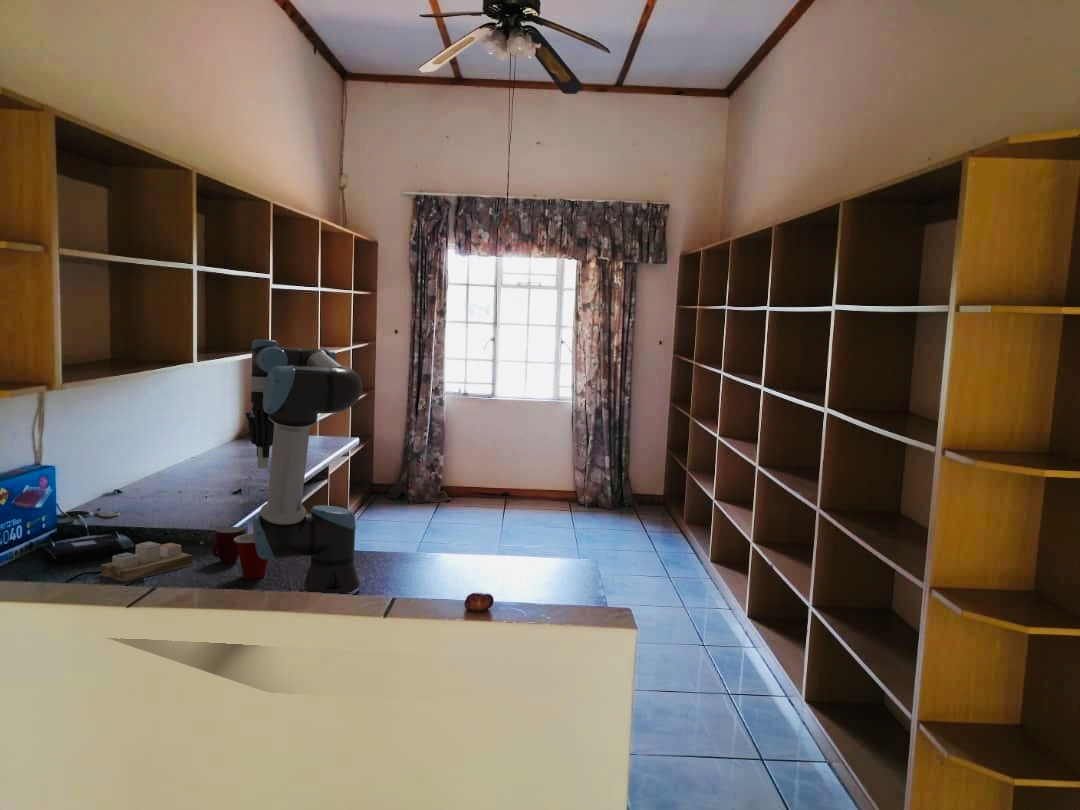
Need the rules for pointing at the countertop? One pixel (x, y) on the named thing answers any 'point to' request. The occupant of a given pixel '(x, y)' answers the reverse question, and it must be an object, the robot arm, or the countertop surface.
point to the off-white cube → (125, 560)
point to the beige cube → (170, 550)
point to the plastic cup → (250, 557)
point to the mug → (226, 544)
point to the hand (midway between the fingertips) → (262, 467)
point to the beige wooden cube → (148, 552)
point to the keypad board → (146, 568)
